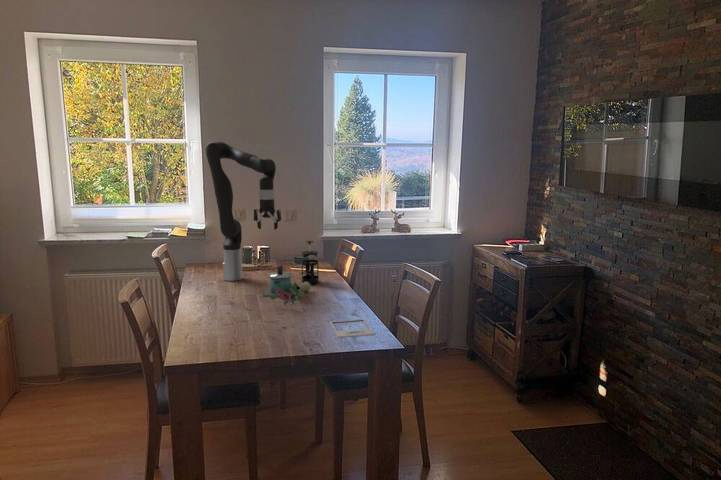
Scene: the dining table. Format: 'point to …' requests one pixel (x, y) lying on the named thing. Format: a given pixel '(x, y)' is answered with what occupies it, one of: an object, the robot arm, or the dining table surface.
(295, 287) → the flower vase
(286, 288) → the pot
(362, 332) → the photo frame
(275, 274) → the lid
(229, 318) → the dining table surface
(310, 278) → the french press
